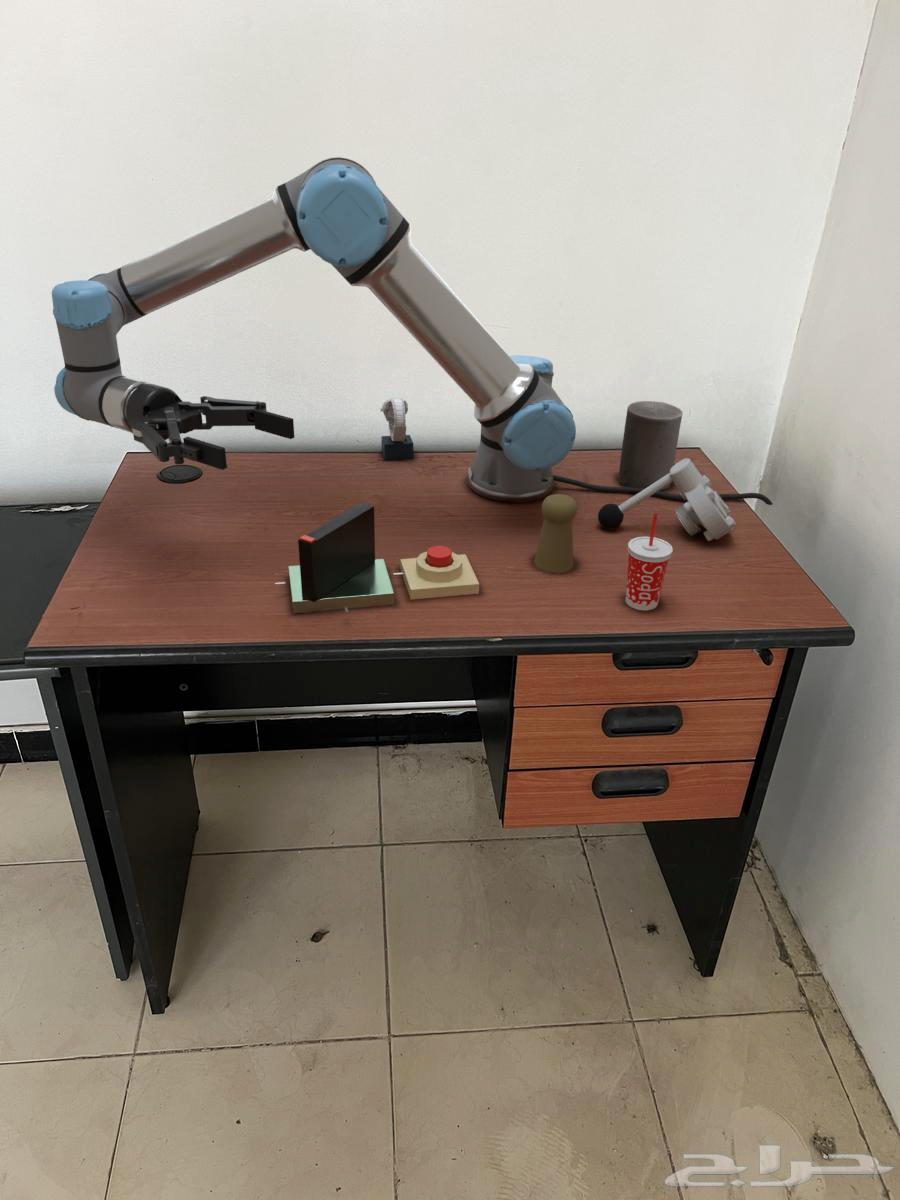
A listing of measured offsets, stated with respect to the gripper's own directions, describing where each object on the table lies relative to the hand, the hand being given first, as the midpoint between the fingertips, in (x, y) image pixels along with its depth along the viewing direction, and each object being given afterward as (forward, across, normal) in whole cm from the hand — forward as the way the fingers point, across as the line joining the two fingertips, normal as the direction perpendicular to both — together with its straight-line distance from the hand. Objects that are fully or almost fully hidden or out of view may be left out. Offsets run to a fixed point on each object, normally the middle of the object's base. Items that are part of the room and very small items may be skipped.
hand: (259, 443), depth 117 cm
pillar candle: (+30, -68, -22) cm, 77 cm away
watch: (-14, -51, -22) cm, 58 cm away
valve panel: (+8, -5, -22) cm, 24 cm away
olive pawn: (+30, -30, -22) cm, 48 cm away
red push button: (+19, -15, -19) cm, 31 cm away
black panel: (+8, -5, -20) cm, 22 cm away
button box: (+19, -15, -22) cm, 33 cm away
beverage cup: (+46, -27, -22) cm, 57 cm away
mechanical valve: (+40, -50, -22) cm, 68 cm away
